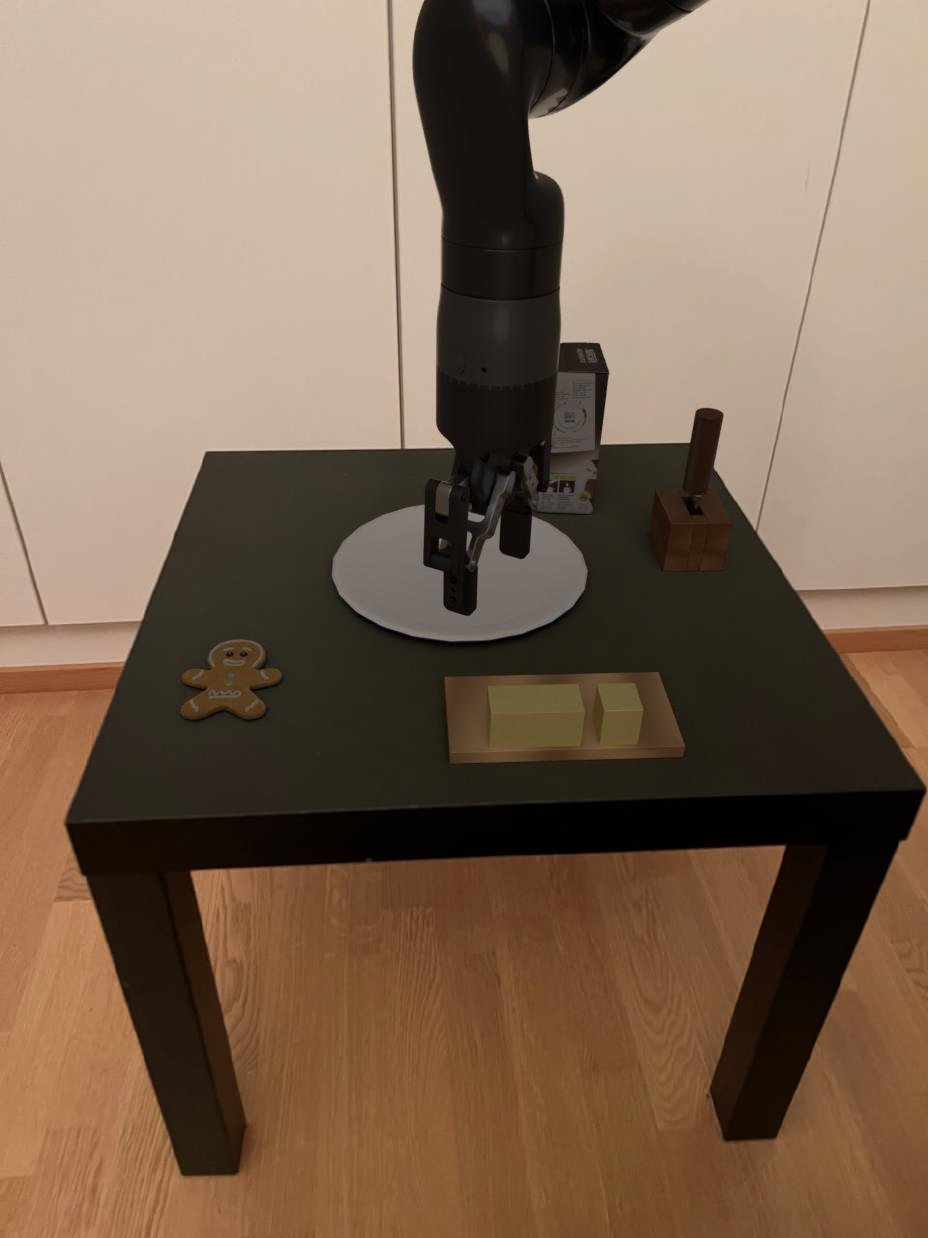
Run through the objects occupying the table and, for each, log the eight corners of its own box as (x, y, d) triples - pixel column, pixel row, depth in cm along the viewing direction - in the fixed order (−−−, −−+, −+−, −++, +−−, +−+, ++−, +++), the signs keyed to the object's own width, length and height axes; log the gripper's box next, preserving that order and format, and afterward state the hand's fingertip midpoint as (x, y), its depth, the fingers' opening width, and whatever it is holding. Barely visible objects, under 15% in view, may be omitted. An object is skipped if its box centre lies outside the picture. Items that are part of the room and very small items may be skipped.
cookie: (166, 713, 74) (192, 636, 82) (168, 722, 75) (194, 644, 83) (273, 713, 75) (288, 636, 83) (274, 722, 75) (289, 644, 83)
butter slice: (629, 716, 75) (635, 682, 73) (638, 744, 72) (644, 709, 70) (592, 717, 75) (596, 683, 73) (599, 745, 72) (604, 710, 70)
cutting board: (656, 682, 80) (658, 671, 79) (683, 757, 73) (685, 746, 72) (444, 687, 79) (444, 676, 78) (449, 764, 72) (449, 752, 71)
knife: (693, 545, 98) (719, 407, 90) (699, 559, 96) (727, 418, 87) (668, 546, 98) (692, 407, 89) (674, 559, 96) (699, 418, 87)
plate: (629, 556, 96) (631, 546, 96) (500, 686, 79) (501, 674, 79) (429, 489, 107) (429, 479, 107) (277, 590, 90) (276, 579, 90)
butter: (574, 718, 75) (578, 683, 73) (580, 746, 72) (585, 711, 70) (485, 720, 74) (487, 685, 72) (489, 748, 72) (490, 713, 69)
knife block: (703, 534, 100) (712, 488, 97) (722, 570, 95) (732, 522, 92) (647, 535, 100) (655, 489, 97) (663, 571, 94) (671, 523, 91)
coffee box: (594, 515, 103) (610, 372, 94) (535, 513, 103) (545, 370, 94) (587, 476, 111) (601, 340, 101) (532, 475, 111) (541, 339, 101)
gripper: (501, 409, 51) (490, 649, 61) (597, 336, 62) (575, 550, 71) (383, 383, 54) (390, 616, 64) (494, 317, 65) (486, 525, 74)
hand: (488, 581), depth 67 cm, fingers open, 8 cm apart
